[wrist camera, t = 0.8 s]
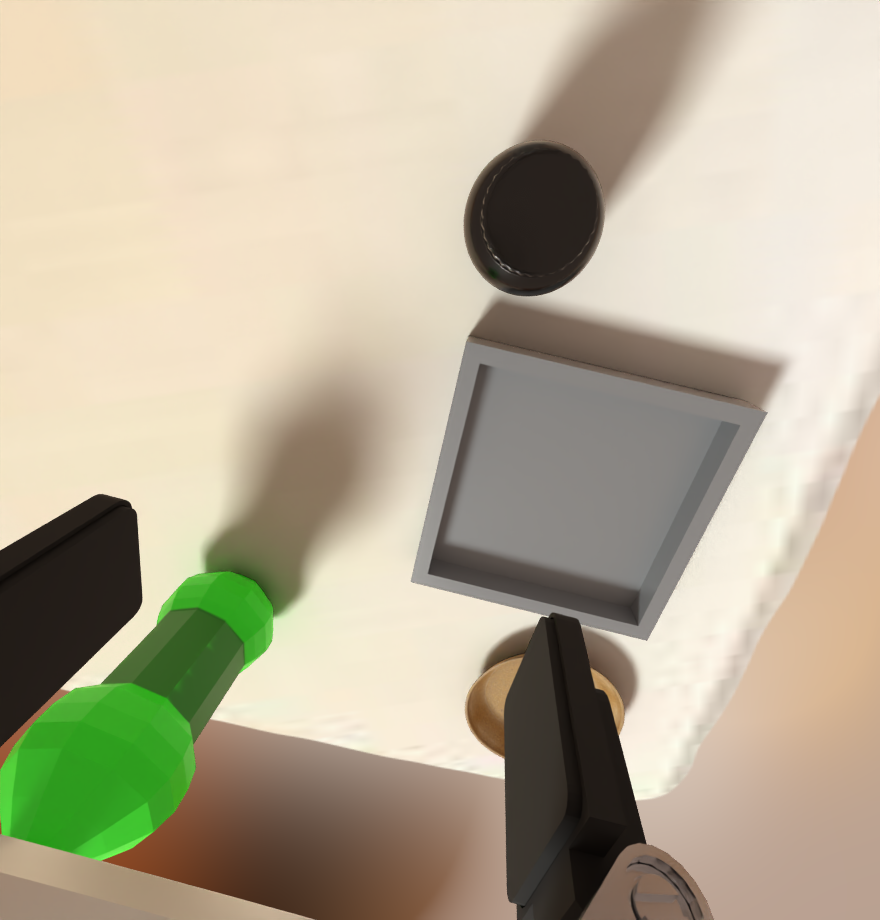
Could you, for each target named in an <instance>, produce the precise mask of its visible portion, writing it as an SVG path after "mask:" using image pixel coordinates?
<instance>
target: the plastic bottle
mask: <svg viewBox="0 0 880 920" xmlns="http://www.w3.org/2000/svg"><path fill="white" fill-rule="evenodd" d="M272 636H273V607H272V604H271V602H270V601H269V599H268V598H267V597H266V596H265V593H264V592H263V591H262V589H261V588H260V587H259V585H258V584H257V583H256V582H255V581H254V580H252V579H249V578H247V577H245V576H243V575H241V574H235V573H233V572H230V571H225V572H214V573H203V574H197V575H195V576H192V577H189V578H187V579H186V580H185V581H184V582H183V583H182V584H181V585H180V586H179V588H178V589H177V590H176V591H175V592H174V593H173V594H172V595H171V596H170V598H169V599H168V600H167V601H166V602H165V603H164V604H163V606H162V608H161V611H160V613H159V616H158V620H157V626H156V627H155V628H154V629H153V630H152V631H151V632H150V633H149V634H148V635H147V636H146V637H145V638H144V640H143V641H142V642H141V643H140V644H139V645H138V646H137V647H136V648H135V649H134V650H133V651H132V652H131V653H130V654H129V655H128V656H127V657H126V658H125V659H124V660H123V661H122V662H121V663H120V664H119V666H118V667H117V668H116V669H115V670H114V671H113V672H112V673H111V674H110V675H109V676H108V677H107V678H106V679H105V680H104V681H103V682H102V683H101V684H100V685H94V686H87V687H81V688H75V689H74V690H72V691H71V692H69V693H68V694H66V695H65V696H64V697H62V698H61V699H59V700H58V701H56V702H55V703H54V704H53V705H51V706H50V707H49V708H48V709H47V710H46V711H45V712H44V713H43V714H42V715H41V716H40V717H39V718H38V719H37V720H36V721H35V722H34V723H33V724H32V725H31V726H30V728H29V729H28V730H27V731H26V732H25V733H24V735H23V736H22V737H21V738H20V739H19V741H18V742H17V743H16V744H15V745H14V747H13V749H12V750H11V752H10V754H9V756H8V757H7V759H6V761H5V763H4V765H3V766H2V768H1V770H0V816H1V829H2V835H5V836H9V837H13V838H16V839H20V840H24V841H28V842H32V843H35V844H39V845H43V846H47V847H50V848H54V849H58V850H62V851H65V852H69V853H73V854H76V855H80V856H84V857H87V858H91V859H95V860H99V861H101V860H104V859H106V858H109V857H111V856H114V855H116V854H119V853H121V852H124V851H126V850H129V849H131V848H133V847H134V846H135V845H137V844H138V843H139V842H141V841H142V840H143V839H145V838H146V837H147V836H149V835H150V834H151V833H153V832H154V831H155V830H156V829H157V828H158V827H159V826H160V825H161V824H162V823H163V822H164V821H165V820H166V819H168V818H169V817H170V816H171V815H172V814H173V813H174V812H175V810H176V809H177V807H178V805H179V804H180V802H181V800H182V798H183V797H184V795H185V793H186V792H187V790H188V788H189V785H190V783H191V780H192V777H193V774H194V772H195V769H196V765H195V756H194V748H193V744H194V743H195V741H196V740H197V738H198V736H199V735H200V733H201V732H202V730H203V729H204V727H205V726H206V724H207V722H208V721H209V719H210V718H211V716H212V715H213V713H214V711H215V710H216V708H217V707H218V705H219V704H220V702H221V701H222V699H223V697H224V696H225V694H226V693H227V691H228V690H229V688H230V687H231V685H232V683H233V682H234V680H235V679H236V677H237V676H238V674H239V673H241V672H242V671H243V670H245V669H246V668H247V667H248V666H250V665H251V664H252V663H253V662H254V661H255V660H256V659H257V658H259V657H260V656H261V655H262V654H263V653H264V652H265V651H266V650H267V648H268V647H269V645H270V643H271V642H272Z"/></svg>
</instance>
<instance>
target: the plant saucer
mask: <svg viewBox="0 0 880 920" xmlns="http://www.w3.org/2000/svg"><path fill="white" fill-rule="evenodd" d="M523 657H524V654H521V655H517V656H514V657H511V658H508V659H505V660H503V661H501V662H499V663H497V664H496V665H494V666H493V667H491V668H490V669H488V670H487V671H486V672H485V673H483V674H482V675H481V676H480V677H479V678H478V679H477V680H476V681H475V683H474V684H473V685H472V687H471V689H470V690H469V692H468V695H467V697H466V702H465V715H466V720H467V723H468V726H469V728H470V730H471V732H472V733H473V735H474V736H475V737H476V738H477V740H478V741H479V742H480V743H481V744H482V745H483V746H485V747H486V748H487V749H489V750H490V751H491V752H493V753H494V754H496V755H498V756H500V757H502V758H504V759H505V749H504V706H505V700H506V697H507V694H508V692H509V689H510V687H511V685H512V682H513V680H514V678H515V675H516V673H517V671H518V668H519V666H520V664H521V661H522V659H523ZM590 668H591V673H592V677H593V681H594V686H595V688H597V689H600V690H603V691H604V692H605V693H606V694H607V696H608V698H609V701H610V704H611V708H612V712H613V716H614V720H615V724H616V728H617V732H618V735H619V734H620V732H621V730H622V727H623V724H624V715H625V713H624V705H623V701H622V699H621V697H620V695H619V693H618V691H617V690H616V688H615V687H614V686H613V684H612V683H611V682H610V681H609V680H608V679H607V678H606V677H605V676H603V675H602V674H601V673H599V672H598V671H596V670H595V669H593V668H592V667H590Z"/></svg>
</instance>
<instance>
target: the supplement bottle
mask: <svg viewBox="0 0 880 920" xmlns="http://www.w3.org/2000/svg"><path fill="white" fill-rule="evenodd" d="M604 219H605V204H604V196H603V192H602V188H601V185H600V182H599V180H598V178H597V175H596V173H595V172H594V170H593V168H592V167H591V166H590V164H589V163H588V162H587V161H586V160H585V159H584V158H583V157H582V156H581V155H580V154H579V153H578V152H576V151H575V150H573V149H572V148H570V147H568V146H566V145H564V144H561V143H558V142H554V141H548V140H533V141H527V142H523V143H520V144H517V145H514V146H512V147H510V148H508V149H506V150H505V151H503V152H502V153H500V154H499V155H498V156H496V157H495V158H494V159H493V160H492V161H491V162H490V163H488V165H487V166H486V167H485V168H484V169H483V171H482V172H481V173H480V175H479V176H478V178H477V179H476V181H475V183H474V185H473V187H472V189H471V191H470V194H469V197H468V200H467V203H466V208H465V214H464V237H465V243H466V247H467V250H468V253H469V256H470V258H471V260H472V262H473V264H474V266H475V267H476V269H477V270H478V272H479V273H480V274H481V275H482V276H483V278H484V279H485V280H487V281H488V282H489V283H490V284H491V285H493V286H494V287H496V288H498V289H499V290H501V291H504V292H506V293H509V294H513V295H517V296H538V295H543V294H547V293H550V292H552V291H555V290H557V289H559V288H561V287H563V286H564V285H566V284H567V283H569V282H570V281H571V280H573V279H574V278H575V277H576V276H577V275H578V274H579V273H580V272H581V271H582V270H583V269H584V268H585V266H586V265H587V264H588V263H589V261H590V259H591V258H592V256H593V254H594V253H595V251H596V249H597V246H598V244H599V241H600V238H601V235H602V231H603V226H604Z"/></svg>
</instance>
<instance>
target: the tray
mask: <svg viewBox="0 0 880 920" xmlns="http://www.w3.org/2000/svg"><path fill="white" fill-rule="evenodd" d="M767 413H768V412H766V411H764V410H762V409H760V408H758V407H756V406H754V405H752V404H750V403H748V402H746V401H744V400H740V399H736V398H731V397H727V396H723V395H719V394H714V393H710V392H706V391H702V390H697V389H693V388H689V387H685V386H680V385H676V384H672V383H668V382H663V381H659V380H655V379H651V378H647V377H642V376H638V375H634V374H630V373H625V372H621V371H617V370H613V369H608V368H604V367H600V366H596V365H591V364H587V363H583V362H579V361H574V360H570V359H566V358H562V357H557V356H553V355H549V354H545V353H540V352H536V351H532V350H528V349H523V348H519V347H515V346H511V345H506V344H502V343H498V342H494V341H489V340H485V339H481V338H477V337H473V336H468V339H467V341H466V345H465V349H464V354H463V358H462V362H461V367H460V371H459V375H458V380H457V384H456V388H455V393H454V397H453V401H452V405H451V410H450V414H449V418H448V423H447V427H446V431H445V436H444V440H443V444H442V449H441V453H440V457H439V462H438V466H437V470H436V475H435V479H434V483H433V488H432V492H431V496H430V501H429V505H428V509H427V514H426V518H425V522H424V527H423V531H422V535H421V539H420V544H419V548H418V552H417V557H416V561H415V565H414V570H413V574H412V578H411V582H413V583H417V584H421V585H425V586H429V587H433V588H437V589H441V590H445V591H449V592H453V593H457V594H461V595H465V596H469V597H473V598H477V599H481V600H485V601H489V602H493V603H497V604H501V605H505V606H509V607H513V608H518V609H522V610H526V611H530V612H534V613H538V614H542V615H546V616H549V615H550V614H551V613H552V612H554V613H558V614H562V615H566V616H569V617H573V618H577V619H578V620H579V622H580V624H582V625H586V626H590V627H594V628H598V629H602V630H606V631H610V632H614V633H618V634H622V635H626V636H630V637H634V638H638V639H642V640H646V641H647V640H648V638H649V636H650V634H651V632H652V630H653V629H654V627H655V625H656V623H657V621H658V619H659V617H660V615H661V613H662V611H663V610H664V608H665V606H666V604H667V602H668V600H669V598H670V596H671V594H672V593H673V591H674V589H675V587H676V585H677V583H678V581H679V579H680V577H681V575H682V574H683V572H684V570H685V568H686V566H687V564H688V562H689V560H690V558H691V557H692V555H693V553H694V551H695V549H696V547H697V545H698V543H699V541H700V539H701V538H702V536H703V534H704V532H705V530H706V528H707V526H708V524H709V522H710V521H711V519H712V517H713V515H714V513H715V511H716V509H717V507H718V505H719V503H720V502H721V500H722V498H723V496H724V494H725V492H726V490H727V488H728V486H729V485H730V483H731V481H732V479H733V477H734V475H735V473H736V471H737V469H738V467H739V466H740V464H741V462H742V460H743V458H744V456H745V454H746V452H747V450H748V449H749V447H750V445H751V443H752V441H753V439H754V437H755V435H756V433H757V431H758V430H759V428H760V426H761V424H762V422H763V420H764V418H765V416H766V414H767Z"/></svg>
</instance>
